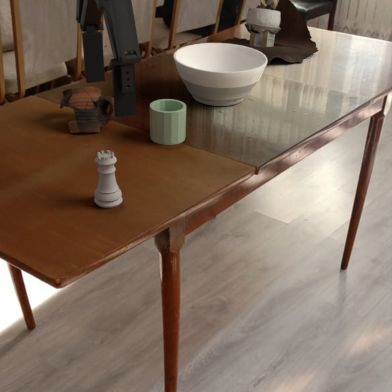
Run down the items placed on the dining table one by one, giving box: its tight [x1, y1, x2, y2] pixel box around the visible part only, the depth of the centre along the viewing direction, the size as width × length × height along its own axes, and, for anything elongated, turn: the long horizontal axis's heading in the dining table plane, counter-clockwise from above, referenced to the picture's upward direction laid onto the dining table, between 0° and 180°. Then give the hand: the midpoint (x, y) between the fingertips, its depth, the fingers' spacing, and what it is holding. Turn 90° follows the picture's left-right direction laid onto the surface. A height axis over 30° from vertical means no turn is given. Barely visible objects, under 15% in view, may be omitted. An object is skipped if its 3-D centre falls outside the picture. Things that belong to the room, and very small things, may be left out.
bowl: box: [173, 42, 267, 107], centre depth 132 cm, size 20×20×8 cm
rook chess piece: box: [93, 149, 123, 209], centre depth 96 cm, size 4×4×8 cm
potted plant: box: [220, 0, 319, 67], centre depth 155 cm, size 20×19×25 cm
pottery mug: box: [59, 86, 116, 134], centre depth 119 cm, size 12×10×8 cm
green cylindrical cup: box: [149, 98, 187, 146], centre depth 116 cm, size 7×7×6 cm
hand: (109, 97), depth 87 cm, fingers open, 13 cm apart
